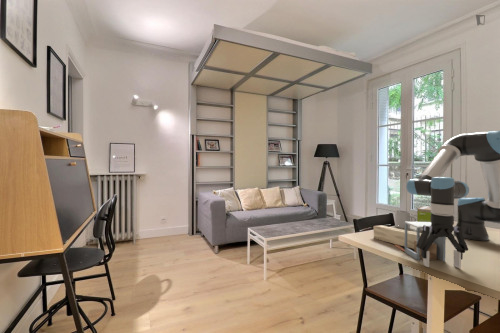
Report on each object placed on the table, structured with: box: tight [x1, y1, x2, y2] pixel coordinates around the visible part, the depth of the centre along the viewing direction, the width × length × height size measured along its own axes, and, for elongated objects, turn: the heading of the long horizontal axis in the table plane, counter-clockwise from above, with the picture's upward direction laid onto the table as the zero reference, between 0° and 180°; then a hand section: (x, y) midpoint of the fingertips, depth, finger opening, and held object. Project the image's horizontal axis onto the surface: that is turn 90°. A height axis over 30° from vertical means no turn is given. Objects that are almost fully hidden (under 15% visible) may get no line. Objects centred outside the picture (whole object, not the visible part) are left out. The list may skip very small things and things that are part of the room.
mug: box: [394, 210, 417, 230], centre depth 159 cm, size 12×8×11 cm
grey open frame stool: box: [394, 221, 447, 262], centre depth 114 cm, size 12×19×15 cm, turn 176°
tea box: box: [416, 205, 432, 232], centre depth 155 cm, size 15×10×15 cm, turn 130°
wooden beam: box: [373, 225, 422, 249], centre depth 125 cm, size 6×26×7 cm, turn 22°
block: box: [414, 240, 437, 261], centre depth 109 cm, size 6×6×7 cm
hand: (441, 266), depth 98 cm, fingers open, 11 cm apart
